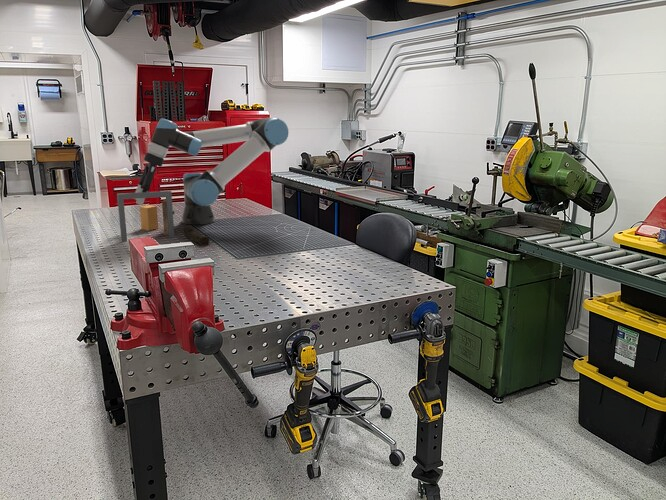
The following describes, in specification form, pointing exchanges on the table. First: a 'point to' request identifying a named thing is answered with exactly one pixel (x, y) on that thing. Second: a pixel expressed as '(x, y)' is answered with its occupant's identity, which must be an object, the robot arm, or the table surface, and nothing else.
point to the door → (165, 217)
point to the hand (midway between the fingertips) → (137, 201)
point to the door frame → (145, 195)
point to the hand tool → (196, 236)
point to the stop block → (149, 217)
